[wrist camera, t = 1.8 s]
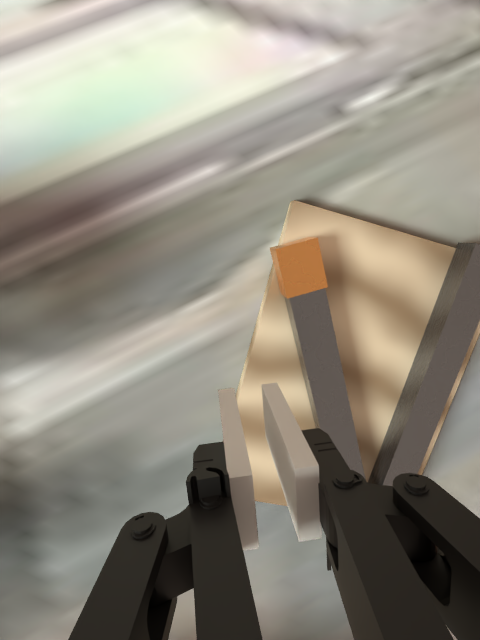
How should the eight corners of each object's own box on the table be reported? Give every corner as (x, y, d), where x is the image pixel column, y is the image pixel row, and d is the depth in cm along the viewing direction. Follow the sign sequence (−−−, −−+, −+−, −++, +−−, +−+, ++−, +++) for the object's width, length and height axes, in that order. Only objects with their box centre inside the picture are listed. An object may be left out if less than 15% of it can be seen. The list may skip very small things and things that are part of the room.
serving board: (394, 513, 41) (401, 524, 39) (210, 483, 37) (211, 493, 36) (495, 262, 35) (508, 263, 34) (290, 201, 32) (294, 200, 30)
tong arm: (366, 499, 38) (378, 519, 35) (332, 509, 38) (341, 530, 35) (310, 236, 31) (320, 237, 28) (268, 248, 31) (274, 249, 28)
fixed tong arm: (389, 500, 38) (400, 516, 36) (362, 496, 38) (372, 511, 36) (487, 251, 33) (507, 252, 31) (458, 242, 33) (476, 243, 31)
